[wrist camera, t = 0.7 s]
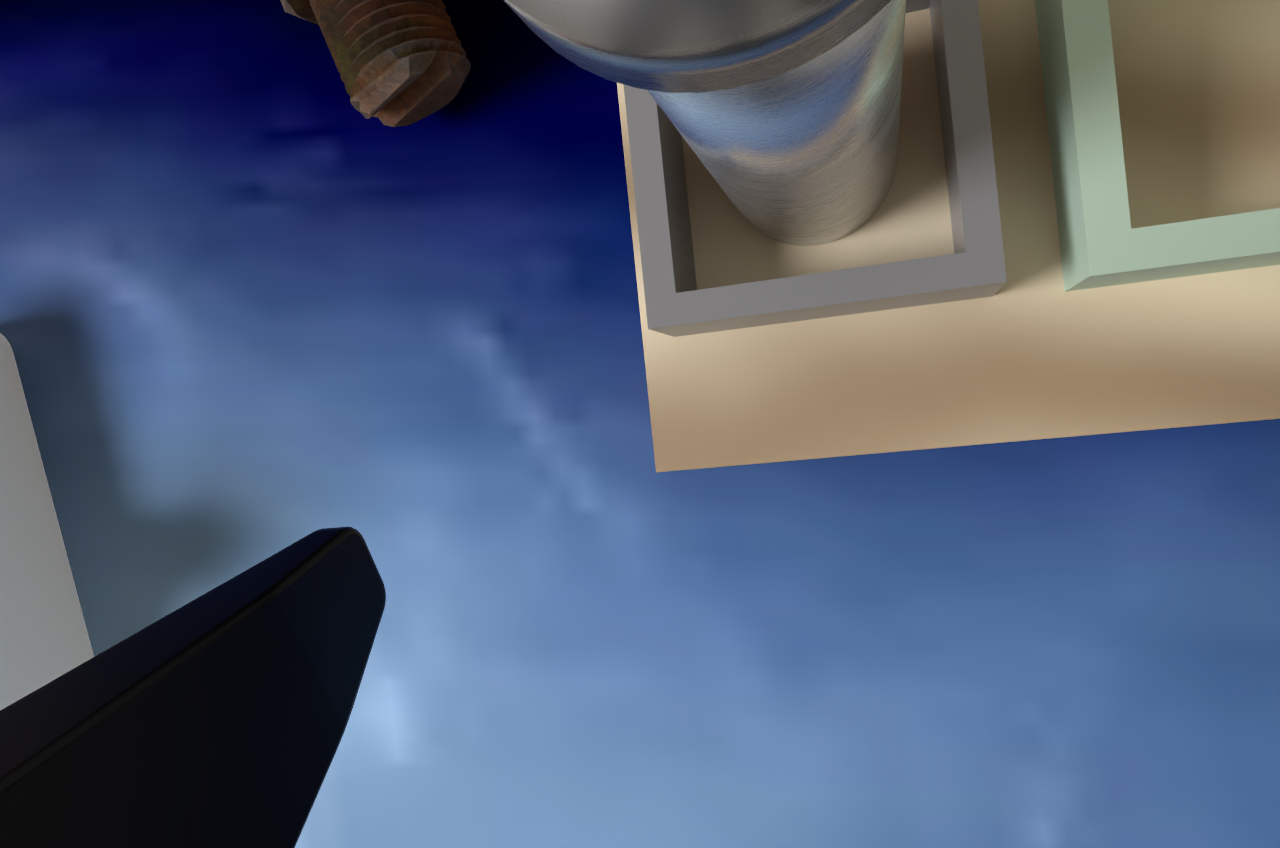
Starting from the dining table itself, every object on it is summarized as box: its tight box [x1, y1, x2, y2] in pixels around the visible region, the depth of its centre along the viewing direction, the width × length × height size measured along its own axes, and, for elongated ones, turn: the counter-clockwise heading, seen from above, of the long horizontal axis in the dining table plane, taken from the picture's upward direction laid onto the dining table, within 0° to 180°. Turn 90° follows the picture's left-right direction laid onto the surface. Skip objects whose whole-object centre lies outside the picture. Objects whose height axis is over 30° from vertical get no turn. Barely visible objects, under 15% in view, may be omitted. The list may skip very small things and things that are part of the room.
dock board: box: [617, 0, 1280, 472], centre depth 20 cm, size 14×18×1 cm
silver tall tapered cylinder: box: [504, 0, 906, 246], centre depth 14 cm, size 5×5×14 cm
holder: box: [623, 0, 1007, 337], centre depth 20 cm, size 7×7×2 cm
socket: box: [1035, 0, 1280, 292], centre depth 17 cm, size 8×8×2 cm
